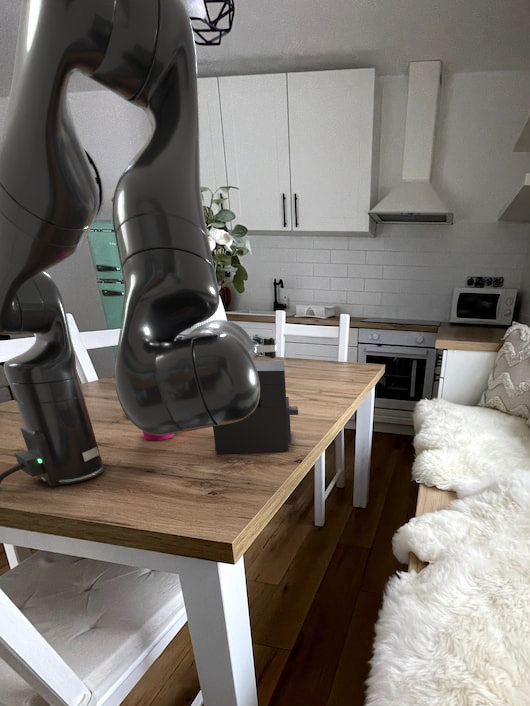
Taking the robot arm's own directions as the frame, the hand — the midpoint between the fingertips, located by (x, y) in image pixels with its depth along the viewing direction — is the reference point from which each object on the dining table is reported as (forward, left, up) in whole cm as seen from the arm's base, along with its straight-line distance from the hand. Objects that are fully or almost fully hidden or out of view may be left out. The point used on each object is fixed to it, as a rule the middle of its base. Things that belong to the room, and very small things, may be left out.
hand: (234, 340), depth 62 cm
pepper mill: (+3, +34, -24) cm, 42 cm away
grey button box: (+15, +13, -24) cm, 31 cm away
